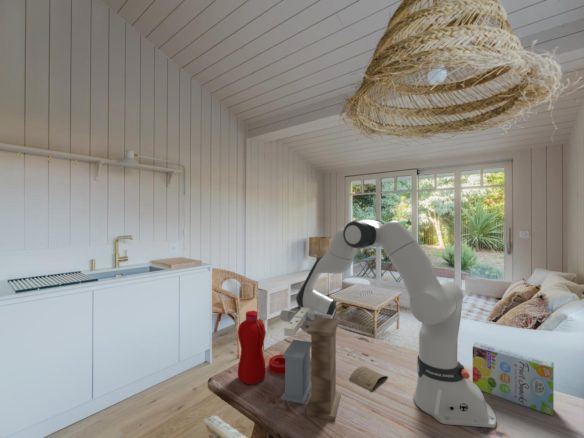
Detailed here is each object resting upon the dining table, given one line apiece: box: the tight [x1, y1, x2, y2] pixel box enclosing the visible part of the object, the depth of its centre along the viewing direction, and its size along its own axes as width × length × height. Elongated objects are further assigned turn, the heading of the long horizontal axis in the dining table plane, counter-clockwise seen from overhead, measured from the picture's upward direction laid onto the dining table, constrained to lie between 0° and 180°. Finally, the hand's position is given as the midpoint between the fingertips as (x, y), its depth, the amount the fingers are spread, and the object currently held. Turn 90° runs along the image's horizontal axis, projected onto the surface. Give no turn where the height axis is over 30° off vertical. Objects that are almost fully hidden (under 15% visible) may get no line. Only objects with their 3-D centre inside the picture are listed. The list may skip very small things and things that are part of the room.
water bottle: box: [237, 310, 267, 386], centre depth 105 cm, size 9×11×25 cm
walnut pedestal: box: [305, 317, 342, 422], centre depth 90 cm, size 9×12×26 cm
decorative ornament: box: [268, 354, 285, 375], centre depth 114 cm, size 10×10×3 cm
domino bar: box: [283, 307, 310, 337], centre depth 98 cm, size 3×21×2 cm, turn 163°
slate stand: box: [281, 339, 311, 405], centre depth 98 cm, size 8×12×15 cm, turn 163°
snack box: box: [472, 341, 555, 417], centre depth 94 cm, size 21×6×15 cm, turn 46°
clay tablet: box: [348, 365, 388, 393], centre depth 105 cm, size 14×10×3 cm
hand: (301, 314), depth 103 cm, fingers closed on domino bar, 3 cm apart
